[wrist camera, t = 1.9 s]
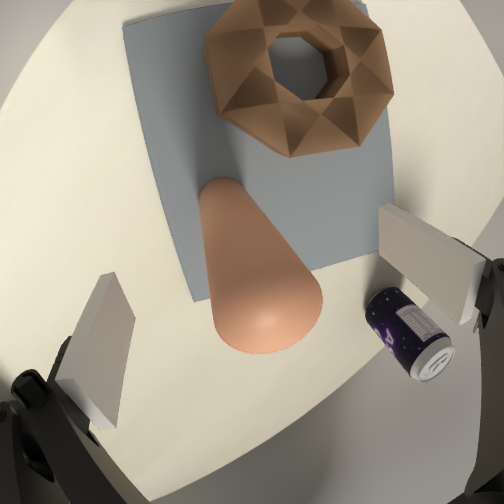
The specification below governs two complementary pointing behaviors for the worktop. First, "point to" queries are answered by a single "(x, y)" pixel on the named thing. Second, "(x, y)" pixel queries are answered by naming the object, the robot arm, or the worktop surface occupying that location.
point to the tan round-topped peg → (253, 274)
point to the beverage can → (409, 334)
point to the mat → (250, 149)
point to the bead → (282, 100)
